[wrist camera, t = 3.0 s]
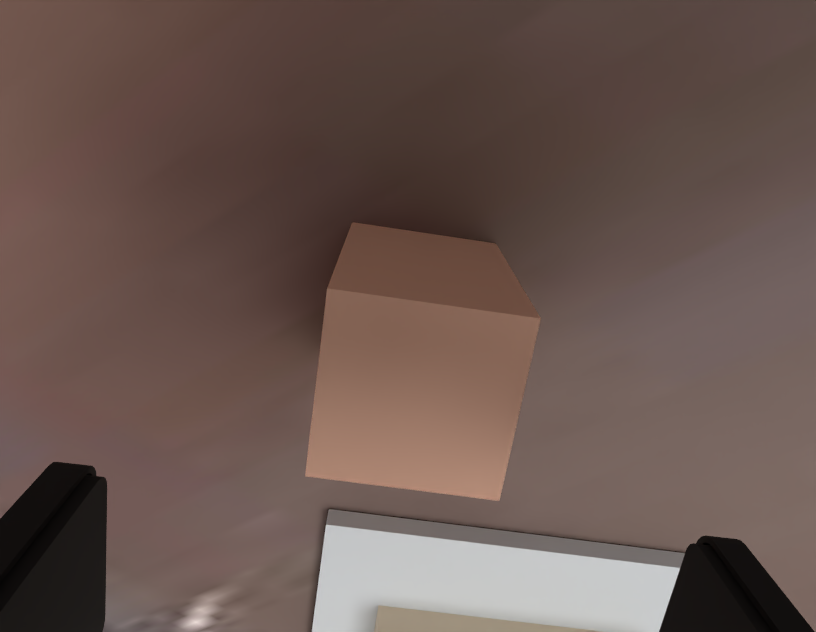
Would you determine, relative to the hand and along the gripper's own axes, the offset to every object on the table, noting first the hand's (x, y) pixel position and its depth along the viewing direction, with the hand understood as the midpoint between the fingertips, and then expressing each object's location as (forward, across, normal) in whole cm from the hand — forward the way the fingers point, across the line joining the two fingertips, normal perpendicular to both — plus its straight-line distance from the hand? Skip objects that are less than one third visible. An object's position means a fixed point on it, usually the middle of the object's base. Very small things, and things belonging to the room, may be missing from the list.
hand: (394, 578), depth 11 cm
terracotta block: (+14, -1, 0) cm, 14 cm away
